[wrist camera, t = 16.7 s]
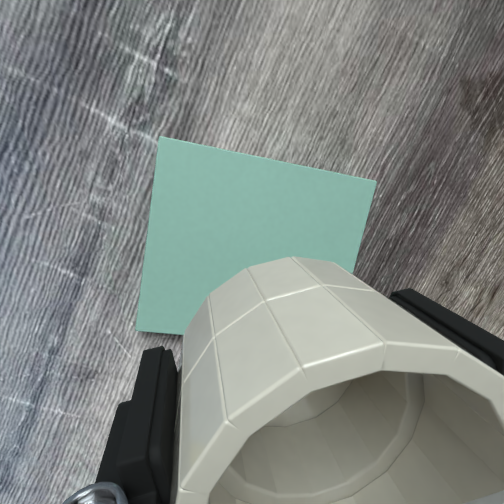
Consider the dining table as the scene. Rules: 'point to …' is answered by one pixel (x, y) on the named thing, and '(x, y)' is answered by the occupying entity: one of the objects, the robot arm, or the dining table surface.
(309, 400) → the white cup
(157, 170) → the scale
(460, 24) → the dining table surface
